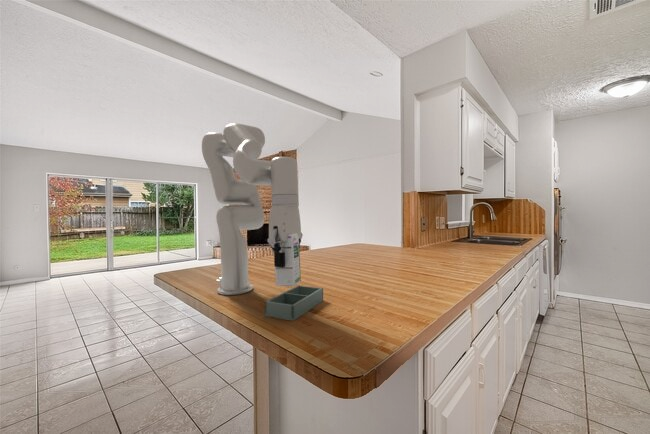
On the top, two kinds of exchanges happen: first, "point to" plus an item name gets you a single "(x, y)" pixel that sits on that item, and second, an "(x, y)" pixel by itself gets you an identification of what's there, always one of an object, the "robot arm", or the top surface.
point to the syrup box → (289, 263)
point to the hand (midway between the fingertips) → (287, 263)
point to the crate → (293, 302)
